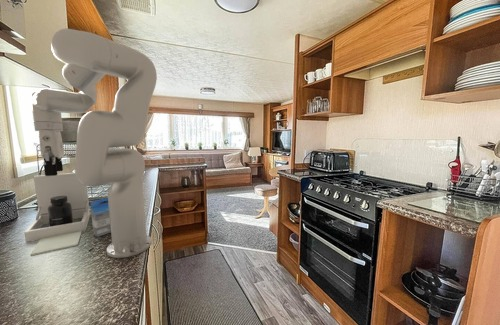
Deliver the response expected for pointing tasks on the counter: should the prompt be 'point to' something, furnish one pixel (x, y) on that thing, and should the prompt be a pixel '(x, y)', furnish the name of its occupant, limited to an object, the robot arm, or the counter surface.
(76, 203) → the white open box
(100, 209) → the label tape box
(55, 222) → the supplement bottle
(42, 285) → the counter surface
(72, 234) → the mat
